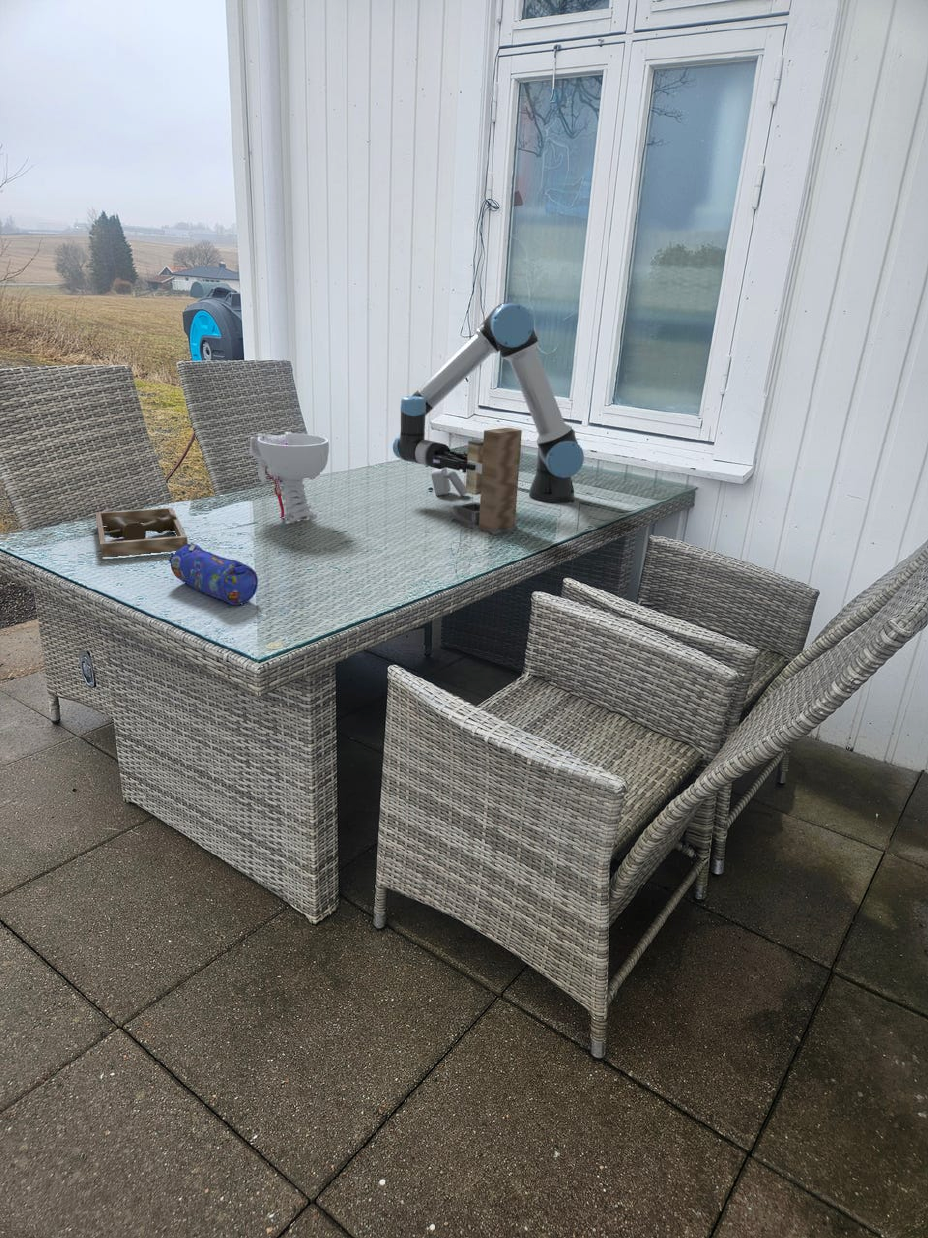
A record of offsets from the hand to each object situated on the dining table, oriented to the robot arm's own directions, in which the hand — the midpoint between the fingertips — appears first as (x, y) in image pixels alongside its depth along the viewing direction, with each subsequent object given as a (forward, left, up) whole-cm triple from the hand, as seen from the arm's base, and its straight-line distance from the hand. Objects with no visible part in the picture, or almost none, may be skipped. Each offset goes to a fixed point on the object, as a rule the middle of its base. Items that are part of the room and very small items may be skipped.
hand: (490, 468), depth 219 cm
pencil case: (+82, +29, -17) cm, 88 cm away
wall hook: (-5, -37, -17) cm, 41 cm away
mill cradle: (+93, -15, -17) cm, 95 cm away
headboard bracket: (0, -1, -17) cm, 17 cm away
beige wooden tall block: (+2, -5, -8) cm, 10 cm away
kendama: (+93, -15, -17) cm, 96 cm away
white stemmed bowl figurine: (+52, -24, -17) cm, 59 cm away
